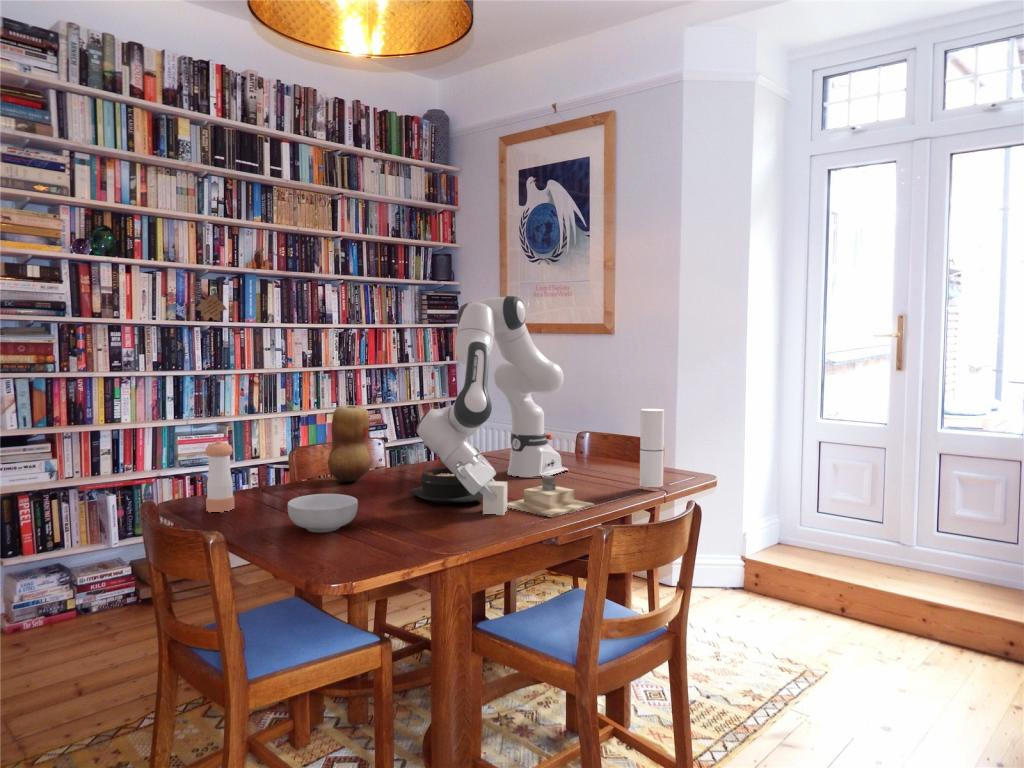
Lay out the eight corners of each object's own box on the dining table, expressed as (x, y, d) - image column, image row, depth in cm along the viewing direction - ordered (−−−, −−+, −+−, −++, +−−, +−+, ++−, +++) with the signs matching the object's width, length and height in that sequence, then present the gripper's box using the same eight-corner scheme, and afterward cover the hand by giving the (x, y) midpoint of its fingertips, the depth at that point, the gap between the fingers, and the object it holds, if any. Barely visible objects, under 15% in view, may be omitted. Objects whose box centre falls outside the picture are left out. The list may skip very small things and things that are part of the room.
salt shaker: (221, 513, 200) (220, 443, 199) (200, 511, 203) (198, 441, 201) (240, 507, 207) (238, 439, 206) (219, 505, 209) (217, 438, 208)
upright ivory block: (487, 509, 206) (487, 480, 205) (507, 510, 205) (507, 481, 204) (483, 514, 200) (483, 485, 200) (503, 515, 199) (503, 485, 199)
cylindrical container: (637, 490, 231) (638, 410, 230) (642, 486, 238) (643, 408, 236) (660, 492, 229) (661, 411, 227) (664, 487, 235) (666, 409, 234)
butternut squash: (361, 486, 236) (360, 408, 234) (321, 484, 238) (320, 407, 237) (376, 478, 250) (375, 404, 248) (338, 476, 252) (337, 403, 250)
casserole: (395, 499, 219) (395, 471, 218) (440, 489, 233) (439, 462, 232) (457, 512, 203) (457, 481, 202) (501, 500, 217) (501, 472, 217)
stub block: (546, 497, 221) (547, 468, 221) (594, 507, 209) (594, 477, 208) (503, 507, 209) (503, 477, 208) (551, 518, 196) (551, 486, 195)
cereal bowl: (292, 540, 175) (292, 511, 174) (284, 524, 190) (283, 496, 189) (364, 533, 181) (364, 504, 181) (350, 517, 197) (350, 491, 196)
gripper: (461, 458, 192) (498, 497, 191) (478, 446, 212) (512, 481, 211) (444, 474, 193) (481, 513, 192) (463, 461, 213) (496, 496, 212)
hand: (497, 496), depth 202 cm, fingers closed on upright ivory block, 6 cm apart
